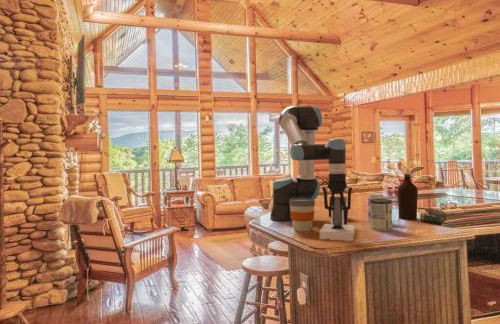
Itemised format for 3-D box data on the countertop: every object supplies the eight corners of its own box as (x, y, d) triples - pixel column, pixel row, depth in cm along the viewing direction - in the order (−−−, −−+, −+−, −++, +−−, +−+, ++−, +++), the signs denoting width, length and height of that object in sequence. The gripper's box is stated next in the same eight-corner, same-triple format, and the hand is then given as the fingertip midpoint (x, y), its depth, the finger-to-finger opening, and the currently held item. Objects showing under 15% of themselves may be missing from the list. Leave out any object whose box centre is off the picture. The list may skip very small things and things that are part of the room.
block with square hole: (324, 231, 181) (324, 223, 181) (354, 232, 177) (354, 225, 176) (319, 239, 164) (319, 231, 164) (352, 240, 159) (352, 232, 159)
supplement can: (367, 222, 201) (367, 194, 200) (369, 220, 208) (368, 193, 208) (384, 223, 198) (383, 195, 197) (384, 220, 205) (384, 193, 205)
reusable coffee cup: (318, 228, 188) (317, 198, 188) (311, 233, 177) (311, 201, 177) (294, 226, 194) (293, 197, 193) (286, 231, 182) (285, 200, 182)
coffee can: (370, 226, 191) (370, 198, 190) (392, 227, 187) (391, 199, 187) (369, 230, 181) (369, 201, 181) (392, 231, 178) (392, 201, 177)
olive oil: (405, 220, 206) (404, 174, 205) (393, 217, 216) (393, 174, 215) (422, 219, 208) (421, 174, 207) (410, 216, 218) (409, 173, 218)
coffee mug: (349, 228, 187) (349, 208, 187) (331, 227, 188) (331, 208, 188) (347, 223, 198) (347, 205, 198) (331, 223, 200) (331, 204, 200)
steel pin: (333, 231, 173) (333, 197, 172) (342, 232, 171) (342, 197, 171) (332, 233, 169) (332, 198, 168) (342, 233, 168) (341, 198, 167)
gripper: (317, 173, 169) (317, 225, 169) (356, 173, 163) (356, 227, 164) (319, 172, 176) (319, 222, 176) (356, 172, 171) (357, 223, 171)
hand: (337, 224), depth 170 cm, fingers closed on steel pin, 4 cm apart
